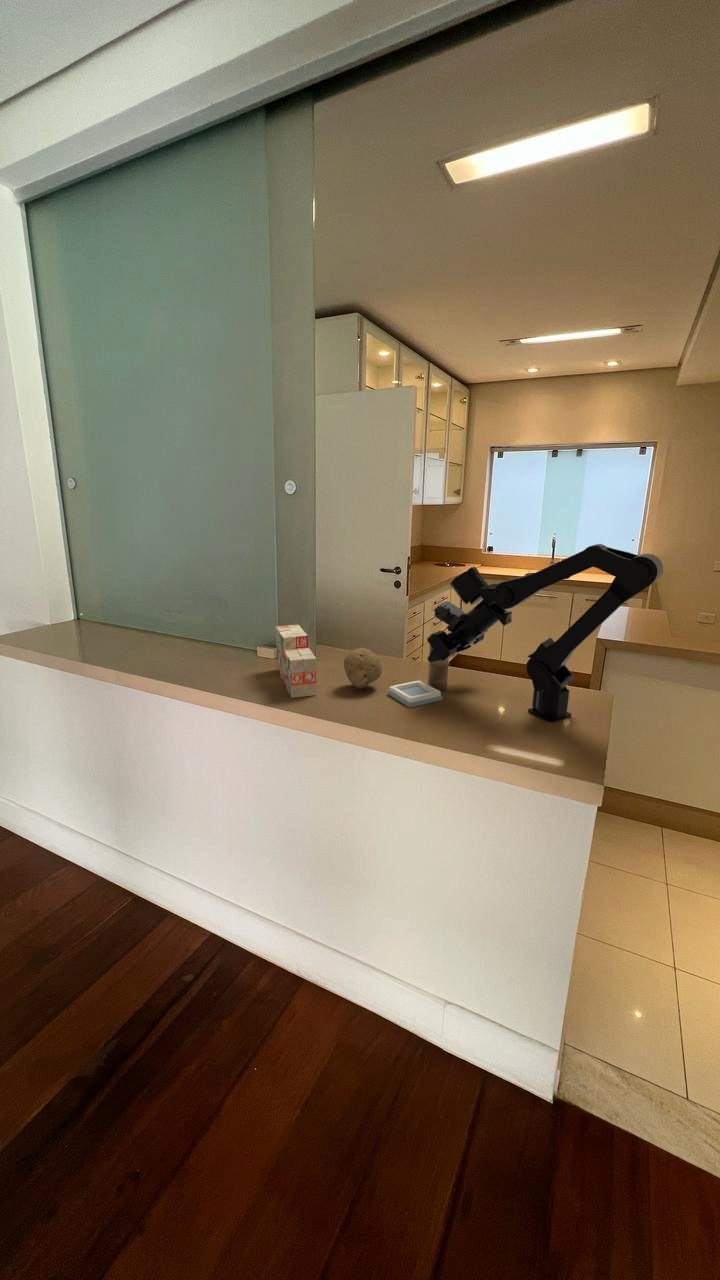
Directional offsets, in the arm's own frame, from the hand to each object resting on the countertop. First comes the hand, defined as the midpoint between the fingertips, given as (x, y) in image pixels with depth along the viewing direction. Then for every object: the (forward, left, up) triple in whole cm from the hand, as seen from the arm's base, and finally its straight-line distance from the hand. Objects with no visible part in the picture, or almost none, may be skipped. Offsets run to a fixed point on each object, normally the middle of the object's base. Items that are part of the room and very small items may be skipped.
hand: (433, 657), depth 125 cm
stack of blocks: (+19, +28, -7) cm, 35 cm away
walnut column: (-1, -1, -7) cm, 7 cm away
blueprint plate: (-4, +8, -7) cm, 12 cm away
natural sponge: (+7, +16, -7) cm, 19 cm away
